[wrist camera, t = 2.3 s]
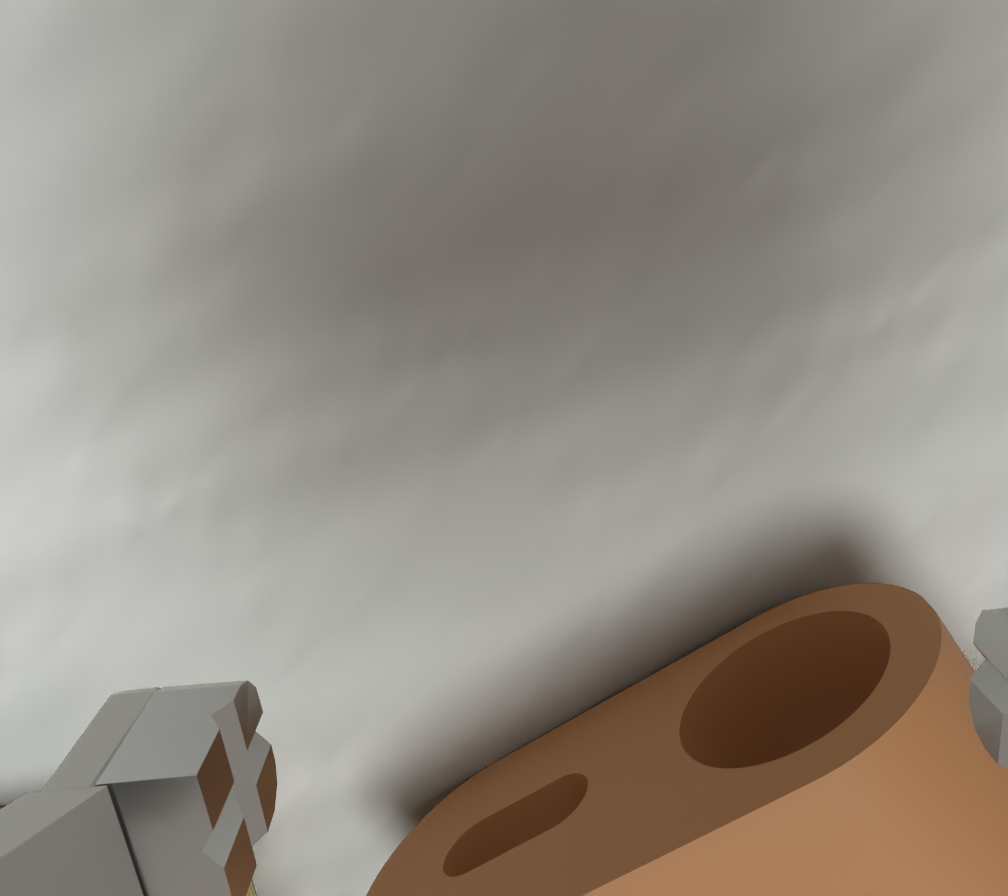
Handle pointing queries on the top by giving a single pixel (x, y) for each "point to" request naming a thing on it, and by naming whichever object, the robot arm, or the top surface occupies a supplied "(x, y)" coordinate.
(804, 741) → the tan piece
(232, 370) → the top surface
